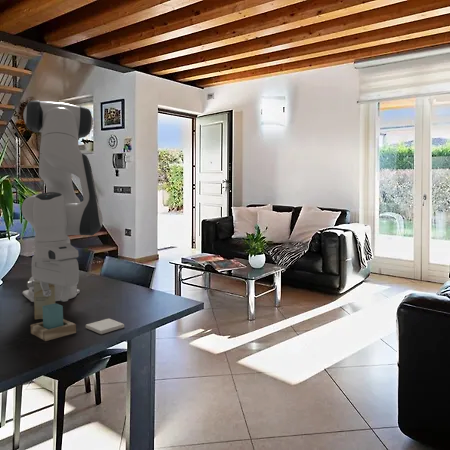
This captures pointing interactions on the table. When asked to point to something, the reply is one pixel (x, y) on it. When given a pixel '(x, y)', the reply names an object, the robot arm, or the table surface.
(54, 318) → the teal bar
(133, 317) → the table surface
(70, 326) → the pocket holder
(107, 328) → the ceramic tile
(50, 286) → the skincare box
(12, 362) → the table surface
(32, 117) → the robot arm
